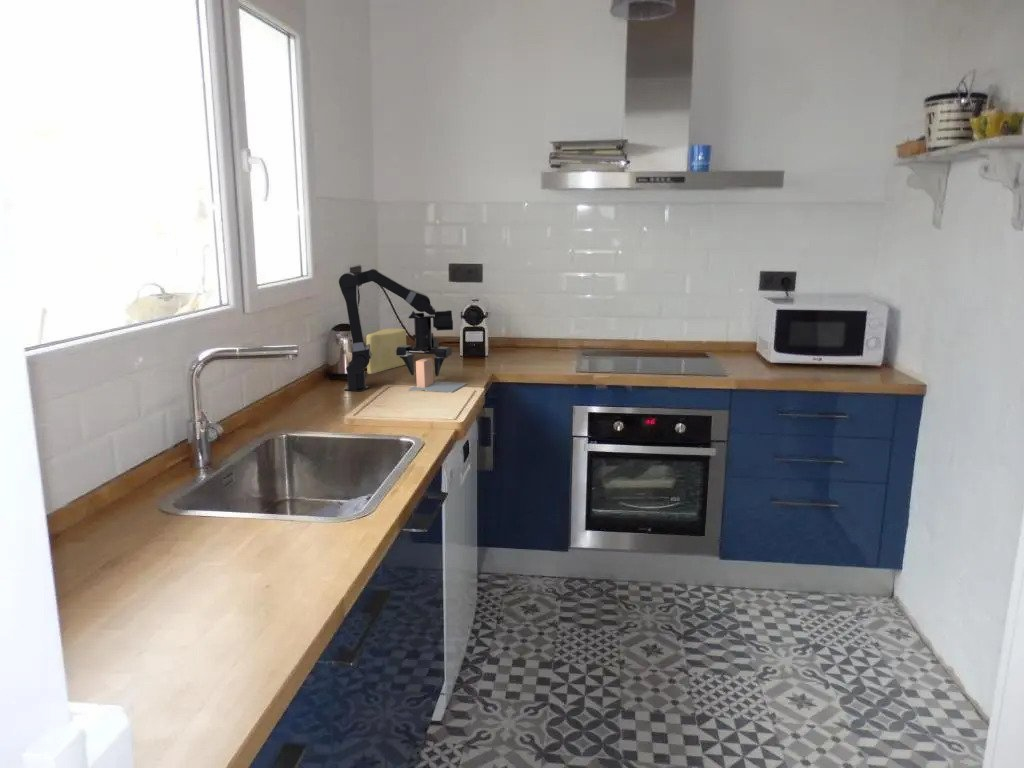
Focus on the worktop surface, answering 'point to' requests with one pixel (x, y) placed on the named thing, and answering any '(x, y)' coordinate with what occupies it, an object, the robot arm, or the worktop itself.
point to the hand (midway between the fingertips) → (424, 375)
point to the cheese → (385, 349)
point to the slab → (424, 372)
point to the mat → (441, 386)
